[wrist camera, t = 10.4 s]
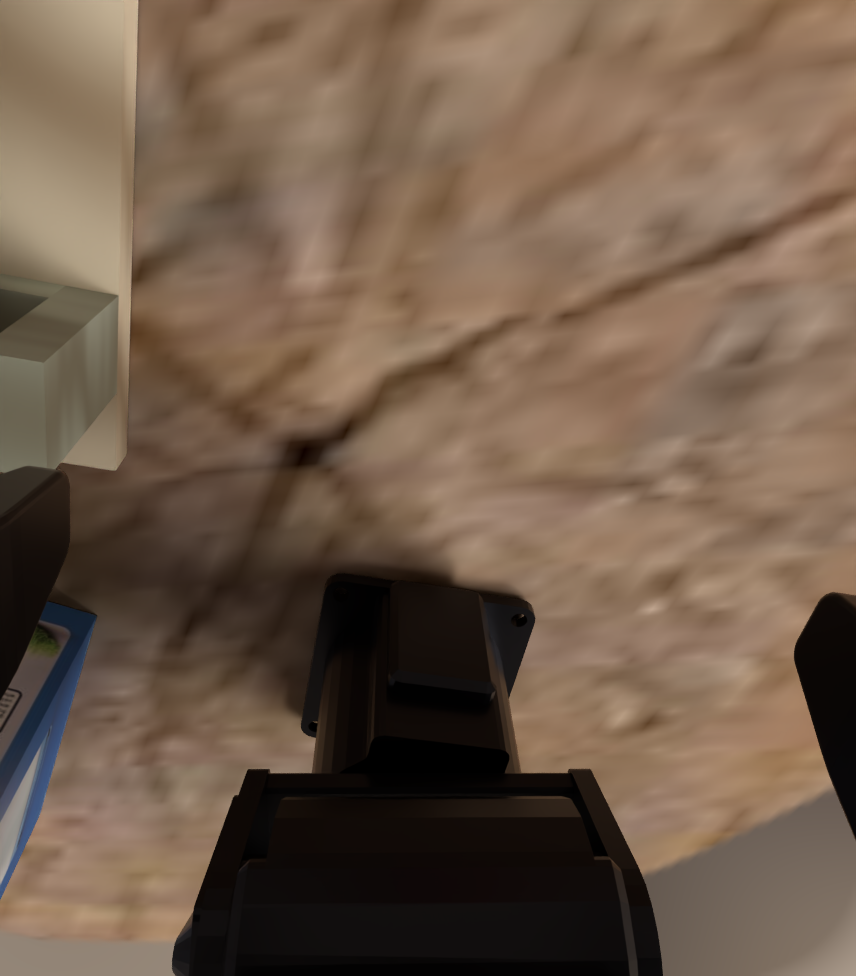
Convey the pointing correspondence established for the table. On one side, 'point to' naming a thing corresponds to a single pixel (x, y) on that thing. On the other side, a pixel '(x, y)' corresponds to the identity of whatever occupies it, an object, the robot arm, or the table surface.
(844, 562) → the table surface
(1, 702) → the milk carton
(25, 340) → the collar cradle
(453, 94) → the table surface
